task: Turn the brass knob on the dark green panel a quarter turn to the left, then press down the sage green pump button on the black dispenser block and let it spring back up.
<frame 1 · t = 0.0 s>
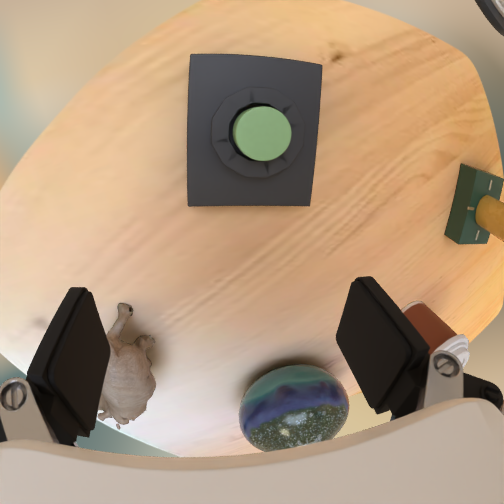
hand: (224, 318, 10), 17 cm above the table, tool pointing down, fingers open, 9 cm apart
knob: (498, 219, 24), point 6 cm above the table, hinge at 0.0°
coffee cup: (408, 316, 38), on the table
rhinoceros figurine: (124, 351, 32), on the table
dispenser: (248, 128, 22), on the table
panel: (469, 202, 30), on the table
vase: (284, 380, 39), on the table
pump: (261, 132, 17), point 6 cm above the table, slide at 0.1 cm
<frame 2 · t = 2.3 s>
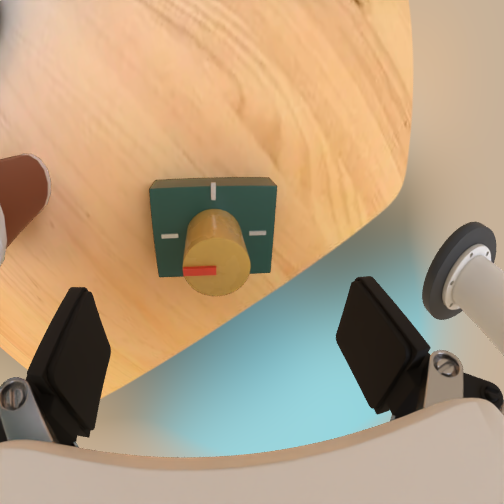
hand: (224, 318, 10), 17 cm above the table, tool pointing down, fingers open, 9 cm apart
knob: (215, 250, 20), point 6 cm above the table, hinge at 0.0°
coffee cup: (28, 184, 20), on the table
panel: (212, 220, 26), on the table
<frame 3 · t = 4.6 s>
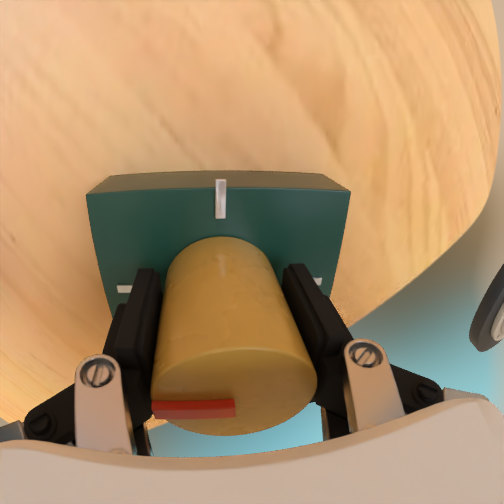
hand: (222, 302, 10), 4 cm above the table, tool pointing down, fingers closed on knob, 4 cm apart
knob: (226, 336, 9), point 6 cm above the table, hinge at 0.1°, touching gripper
panel: (216, 250, 14), on the table
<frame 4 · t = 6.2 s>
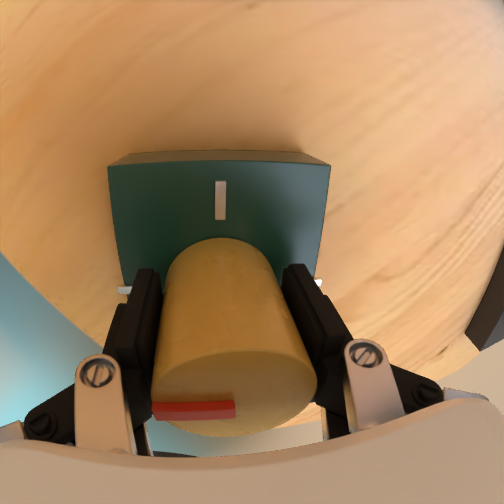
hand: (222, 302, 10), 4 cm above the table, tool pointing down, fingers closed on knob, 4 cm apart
knob: (226, 337, 9), point 6 cm above the table, hinge at 90.6°, touching gripper
panel: (216, 251, 14), on the table
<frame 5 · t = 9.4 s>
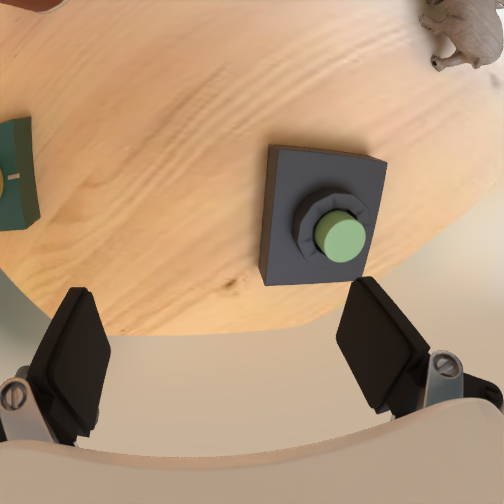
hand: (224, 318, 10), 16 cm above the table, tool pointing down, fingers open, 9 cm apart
rhinoceros figurine: (443, 18, 17), on the table
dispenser: (314, 211, 26), on the table
panel: (6, 173, 19), on the table
pump: (340, 236, 21), point 6 cm above the table, slide at 0.1 cm
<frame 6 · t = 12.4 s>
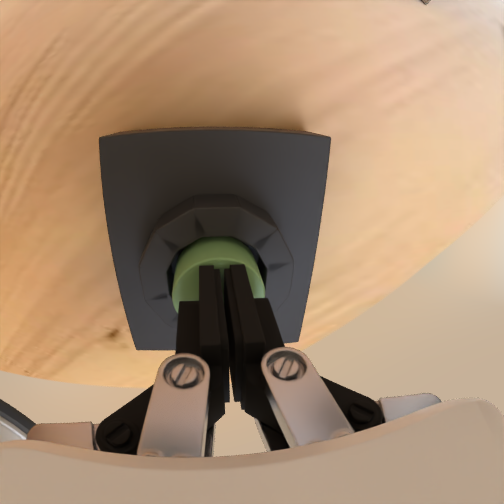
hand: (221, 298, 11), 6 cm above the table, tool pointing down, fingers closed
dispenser: (212, 233, 16), on the table
pump: (217, 284, 12), point 5 cm above the table, slide at -0.4 cm, touching gripper
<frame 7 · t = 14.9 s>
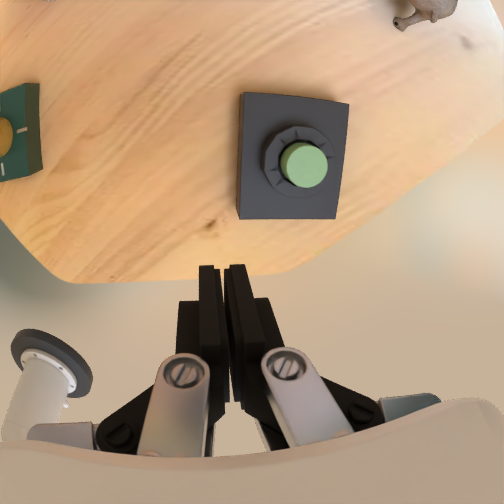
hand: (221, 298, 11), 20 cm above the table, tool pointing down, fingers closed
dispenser: (286, 154, 28), on the table
panel: (15, 133, 21), on the table
pump: (303, 164, 23), point 6 cm above the table, slide at 0.1 cm
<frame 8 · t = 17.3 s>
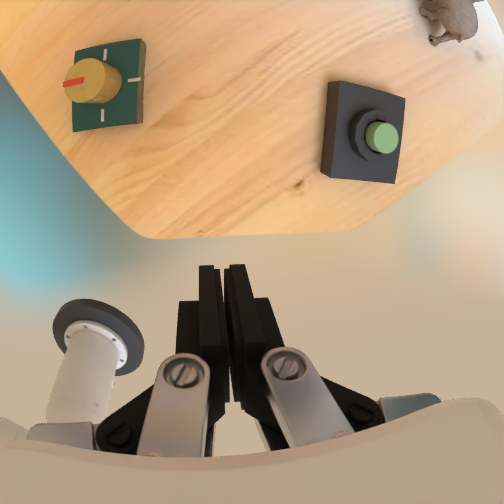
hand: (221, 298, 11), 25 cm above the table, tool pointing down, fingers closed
knob: (93, 82, 20), point 6 cm above the table, hinge at 89.6°
rhinoceros figurine: (437, 10, 23), on the table
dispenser: (358, 132, 33), on the table
panel: (111, 86, 25), on the table
pump: (381, 137, 28), point 6 cm above the table, slide at 0.1 cm
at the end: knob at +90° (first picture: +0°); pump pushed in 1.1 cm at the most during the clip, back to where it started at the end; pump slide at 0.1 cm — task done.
